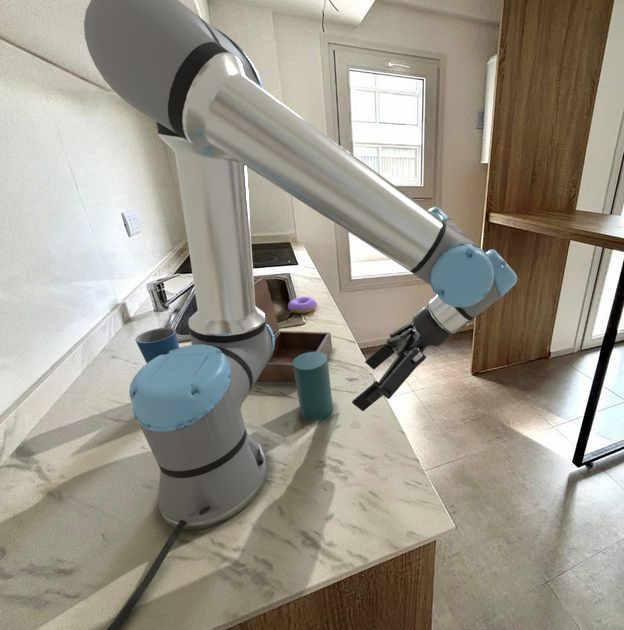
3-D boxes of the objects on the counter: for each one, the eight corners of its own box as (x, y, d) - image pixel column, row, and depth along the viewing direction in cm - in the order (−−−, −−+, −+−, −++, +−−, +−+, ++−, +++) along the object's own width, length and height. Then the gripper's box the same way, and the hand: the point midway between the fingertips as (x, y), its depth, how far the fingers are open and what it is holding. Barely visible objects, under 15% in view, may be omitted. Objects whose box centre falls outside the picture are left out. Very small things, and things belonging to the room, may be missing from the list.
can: (318, 426, 67) (310, 373, 62) (294, 416, 70) (285, 364, 64) (339, 407, 72) (334, 356, 67) (316, 398, 75) (309, 348, 70)
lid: (265, 276, 85) (262, 276, 85) (229, 300, 70) (226, 301, 70) (279, 329, 92) (276, 329, 92) (250, 361, 77) (246, 362, 77)
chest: (332, 350, 94) (330, 332, 92) (313, 385, 79) (311, 365, 77) (281, 348, 94) (278, 330, 92) (253, 384, 79) (248, 363, 77)
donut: (312, 301, 126) (311, 290, 123) (321, 314, 120) (320, 303, 117) (285, 306, 121) (284, 295, 118) (292, 320, 115) (291, 309, 112)
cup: (151, 395, 75) (128, 337, 68) (183, 380, 80) (164, 325, 74) (168, 405, 72) (146, 346, 66) (200, 388, 77) (181, 332, 71)
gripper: (459, 370, 51) (367, 440, 57) (450, 306, 73) (385, 361, 80) (426, 339, 49) (334, 415, 55) (427, 283, 71) (361, 341, 78)
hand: (364, 383), depth 68 cm, fingers open, 13 cm apart
